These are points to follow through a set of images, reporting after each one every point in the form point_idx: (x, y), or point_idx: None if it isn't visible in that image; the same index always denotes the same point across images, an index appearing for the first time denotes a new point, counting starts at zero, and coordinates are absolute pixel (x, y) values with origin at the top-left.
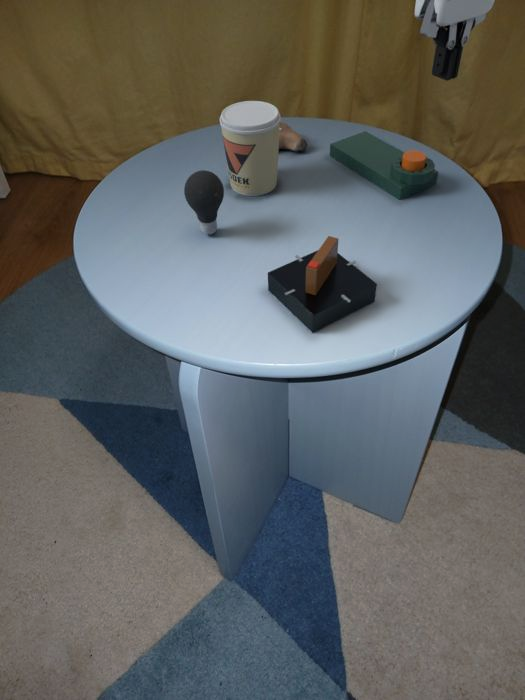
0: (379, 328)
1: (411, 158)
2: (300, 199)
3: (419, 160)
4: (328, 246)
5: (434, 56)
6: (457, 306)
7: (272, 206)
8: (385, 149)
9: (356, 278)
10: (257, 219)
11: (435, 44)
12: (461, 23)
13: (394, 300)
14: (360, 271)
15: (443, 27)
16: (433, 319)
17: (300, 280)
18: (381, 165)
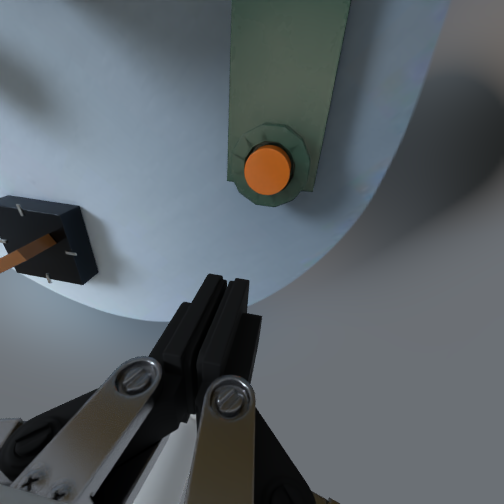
0: (88, 291)
1: (253, 175)
2: (99, 49)
3: (258, 191)
4: (12, 262)
5: (186, 311)
6: (156, 317)
7: (47, 31)
8: (317, 40)
9: (68, 268)
10: (16, 51)
11: (135, 364)
12: (257, 501)
13: (115, 282)
14: (75, 265)
15: (115, 459)
16: (131, 311)
17: (15, 235)
18: (255, 96)
